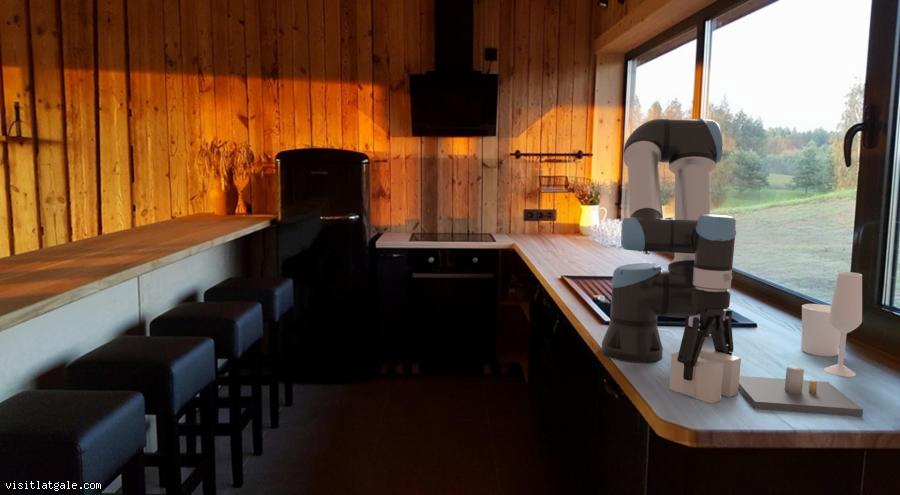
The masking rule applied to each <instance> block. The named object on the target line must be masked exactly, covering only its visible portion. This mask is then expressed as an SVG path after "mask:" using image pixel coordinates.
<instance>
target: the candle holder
mask: <svg viewBox="0 0 900 495" xmlns="http://www.w3.org/2000/svg"><path fill="white" fill-rule="evenodd" d="M830 309H831V305H829V304H821V303H820V304H819V303H806V304H802V305H801V336H800V337H801V340H800V349H801V351H802V352H803V353H806V354H809V355H813V356H817V357H828V358H829V357H830V358H831V357H836V356H837V354H838V353H839V346H840V336H841V332H840V331H838V330H837V329H836V328H835V327H834V326H833V325H832V323H831V322H830V320H829V314H830Z"/></svg>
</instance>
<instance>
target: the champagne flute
mask: <svg viewBox="0 0 900 495" xmlns="http://www.w3.org/2000/svg"><path fill="white" fill-rule="evenodd" d="M833 290H834V291H833V296H832V301H831V305H830V306H831V309H830V314H829V320H830V322H831V323H832V325H833V326H834V327H835V328H836V329H837V330H838V331H840V332H841V336H840V342H839V347H838V357H837V363H836V364H833V365H830V366H827V367H824V368H823V371H824V372H825V373H827V374H830V375H833V376H839V377H847V378H850V377H856V376H857V374H856V373H855V372H854V371H853V370H851V369H850V368H849V367H847V366H845V365H844V360H845V352H846V342H847V335H848V333H851V332H852V331H854V330H856V329H857V328H858V327H860V325H861V324H862V322H863V274H861V273H859V272H853V271H852V272H851V271H850V272H849V271H839V272H838V273H837V278H836V281H835V286H834V289H833Z"/></svg>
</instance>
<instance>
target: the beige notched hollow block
mask: <svg viewBox="0 0 900 495" xmlns="http://www.w3.org/2000/svg"><path fill="white" fill-rule="evenodd" d="M678 354H679V351H676V352H673V353H671V358H670V359H671V361H670V373H669V374H670V375H669V389H668V390H670V391H674V392H677V393H680V394H682V395H685V396H689V397H690V398H694V399H696V400H700V401H703V402H705V403H707V404H714V403H717V402H720V401H722V400H721V399H722V396H724V397H725V396H726V397H728V398H731V397H733V396H736V395H738V394H739V390H738V388H739V376H741V375H740V374H741V362H742V357H739V356H735V355H733V354H732V355H728V354H724V353H721V352H717V351H715V350H713V349H709V348H706V347H702V349H701V351H700V354H699V357H698V359H697V362H696V364H695V365H697V366H698V373H697V387H696V396H691V395H688V394H685V393H682V391H683V373H684V364H683V363H681V362H678V361H677V359H678Z"/></svg>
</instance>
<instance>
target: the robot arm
mask: <svg viewBox="0 0 900 495" xmlns="http://www.w3.org/2000/svg"><path fill="white" fill-rule="evenodd" d="M723 141H724V140H723V134H722V130H721V128H720V125H719V123H718V122H717V121H716V120H714V119H703V118H701V117H700V118H699V117H698V118H695V119H692V118H691V119H690V118H689V119H687V118H684V119H683V118H671V119H670V118H655V119H651V120H649V121H646V122H644V123H642V124H640V125H639V126H638V127H636V129H635V130H633V131H632V133H631V134H630V135H629V136H628V138H627V140H626V142H625V144H624V147H623V154H622V155H623V158H622V159H623V162H624V164H625V166H626V167H627V178H628V180H627V182H628V183H627V184H628V207H629V208H628V209H629V210H628V212H629V216H628V217H625V218H623V219H622V221H621V222H622V223H621V231H620V245H621V248H622V249H623V250H626V251H633V252H634V251H636V252H653V253H674V258H673V259H672V260H671V261H670V262H669V263H668V265H667V269H665V270H662V267H661V265H660V264H659V263H655V262H654V263H653V262H652V263H649V262H640V263H639V262H638V263H631V264H630V263H629V264H623V265H620V266H618V267H616V268H615V269H614V271H613V273H612V274H613V275H612V279H611V280H612V281H611V285H610V287H611V302H610V316H609V317H610V318H609V319H610V320H609V323H608V324H609V325H608V327H607V329H606V332H605V334H604V336H603V339H602V341H601V350H600V351H601V353H602V354H603V355H605V356H606V357H608V358H610V359H611V358H612V359H615V360H618V361H623V362H630V363H651V362H657V361H660V360H662V358H663V355H664V354H663V353H664V352H663V351H664V348H663V345H662V341H661V336H660V333H659V329H658V317H667V318H683V319H685V321H684V322H685V323H684V329H683V330H684V331H683V333H682V339H681V341H680V342H681V343H680V346H679V350H678V352H679V354H678V359H677V361H678V362H681V363H683V364H684V373H683V391H682V393H685V394H688V395H691V396H696V387H697V373H698V366H697V365H695V364H696V362H697V359H698V357H699V354H700V351H701V349H702V348H703V346H704V343H705V342H706V341H705V340H706V339H707V338H708V337H710V338H711V340H712V344H713V348H714V351H717V352H721V353H724V354H728V355H732V356H733V352H734V338H733V329H732V327H733V325H732V315H733V310H731V309H729V307H730V305H731V304H730V302H731V291H730V290H729V289H730V288H731V286H732V280H733V275H732V274H733V264H734V254H735V242H736V235H737V227H736V225H737V222H736V218H735V216H734V217H733V216H732V215H726V214H710V213H711V209H710V208H711V206H710V205H711V204H710V203H711V200H710V198H711V196H710V192H711V191H710V188H711V186H710V184H711V183H710V173H711V172H713V171H714V170H715V168H716V164H718V163H719V162H720V161H721V160H722V156H723V146H724V143H723ZM659 163H668V170H669V171H670V172H671V173H673V175H674V219H672V218H671V219H670V218H669V219H668V218H664V215H663V204H662V203H663V202H662V193H661V183H660V182H661V181H660V180H661V179H660V171H659ZM682 393H681V394H682ZM685 394H684V395H685ZM688 395H687V396H688ZM691 396H690V397H691Z"/></svg>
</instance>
